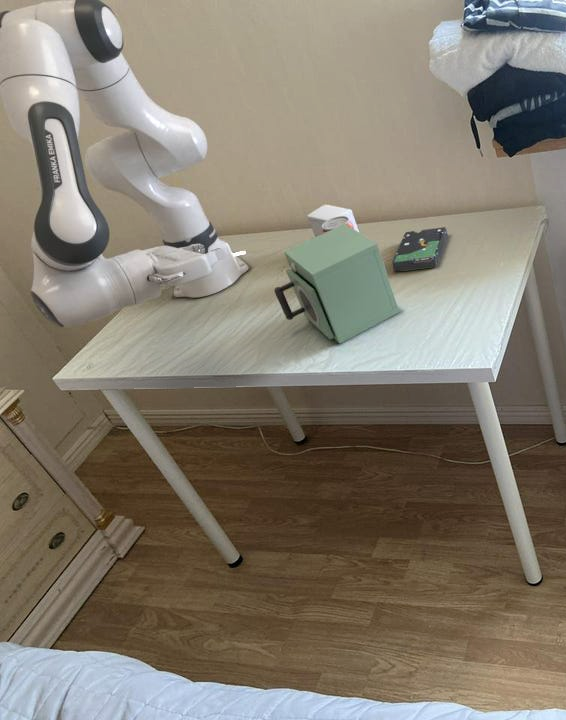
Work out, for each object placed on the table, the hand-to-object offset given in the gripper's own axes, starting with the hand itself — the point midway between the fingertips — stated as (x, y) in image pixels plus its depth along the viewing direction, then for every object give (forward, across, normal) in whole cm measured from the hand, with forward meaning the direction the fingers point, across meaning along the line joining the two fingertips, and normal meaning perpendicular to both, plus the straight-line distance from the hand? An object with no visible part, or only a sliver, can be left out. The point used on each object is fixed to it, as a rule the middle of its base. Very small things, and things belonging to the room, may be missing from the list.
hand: (213, 249), depth 130 cm
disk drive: (+46, 0, +17) cm, 49 cm away
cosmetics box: (+38, +22, +16) cm, 47 cm away
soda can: (+32, +9, +18) cm, 38 cm away
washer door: (+12, -4, +21) cm, 24 cm away
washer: (+21, -6, +21) cm, 31 cm away
